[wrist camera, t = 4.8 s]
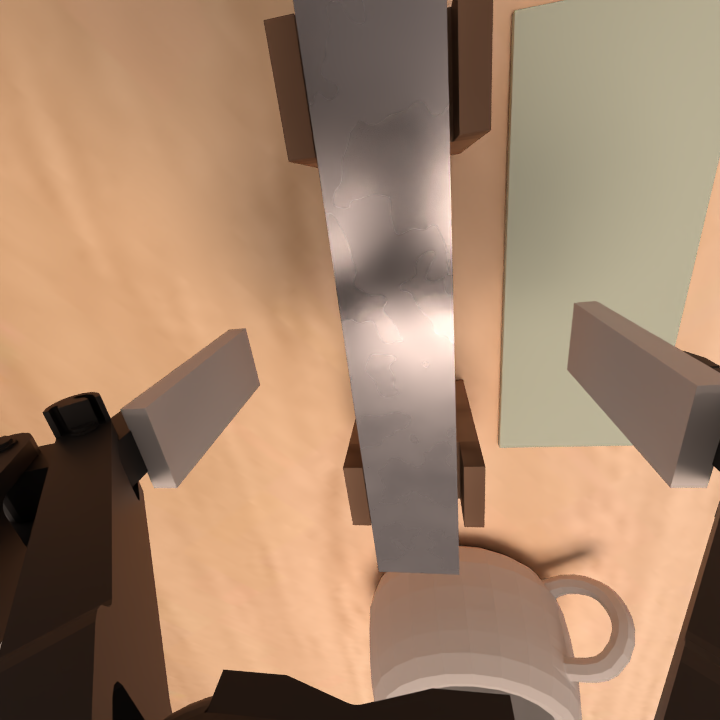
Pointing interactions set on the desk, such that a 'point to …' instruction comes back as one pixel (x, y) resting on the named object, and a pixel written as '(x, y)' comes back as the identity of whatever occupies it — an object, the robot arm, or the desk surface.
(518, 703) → the mug
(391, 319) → the rail
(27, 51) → the desk surface
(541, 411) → the mat
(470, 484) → the rack
